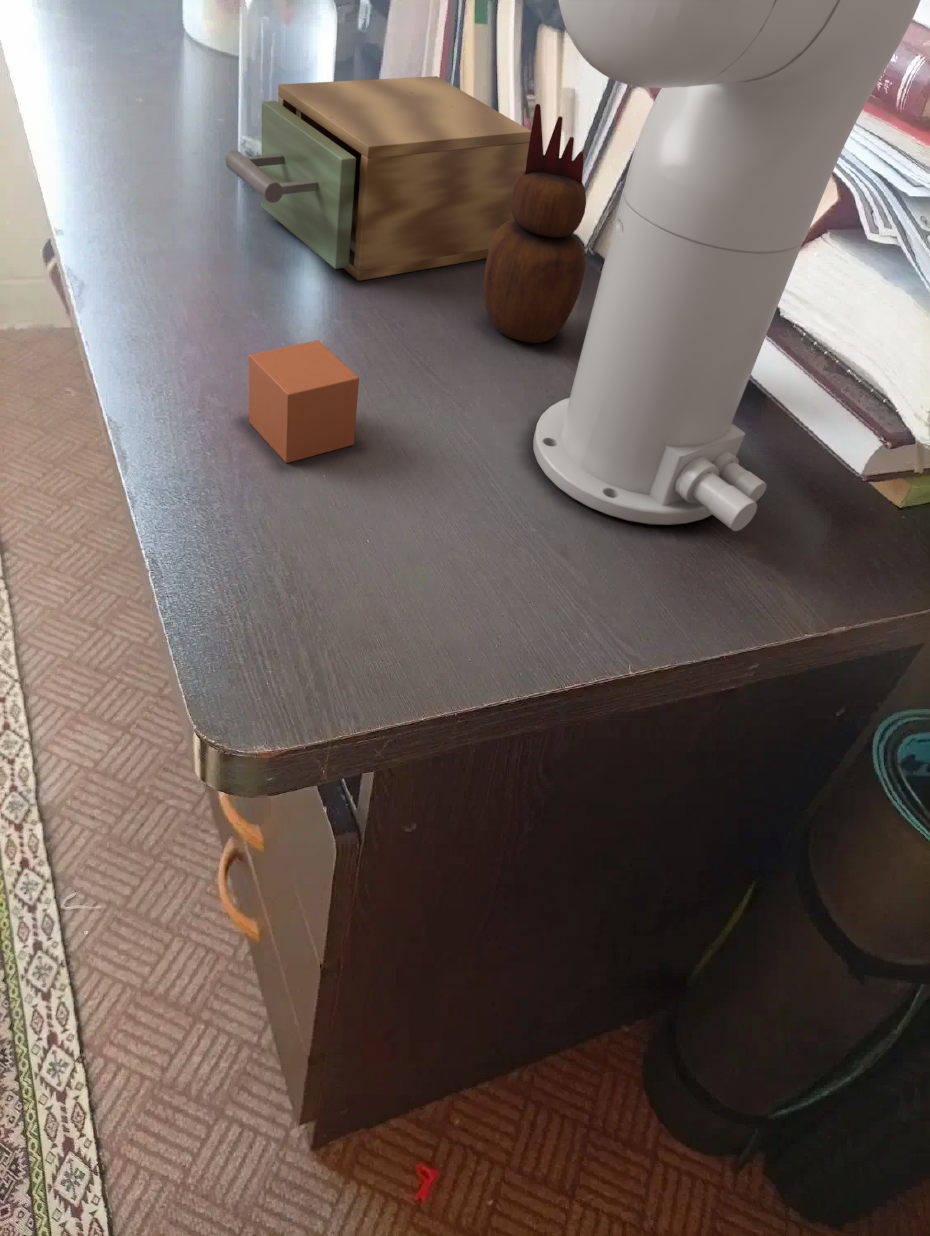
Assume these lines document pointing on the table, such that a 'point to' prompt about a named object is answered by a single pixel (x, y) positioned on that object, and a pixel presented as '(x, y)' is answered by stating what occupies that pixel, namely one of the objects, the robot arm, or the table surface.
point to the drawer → (305, 181)
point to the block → (302, 400)
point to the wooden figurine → (538, 244)
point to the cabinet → (419, 168)
